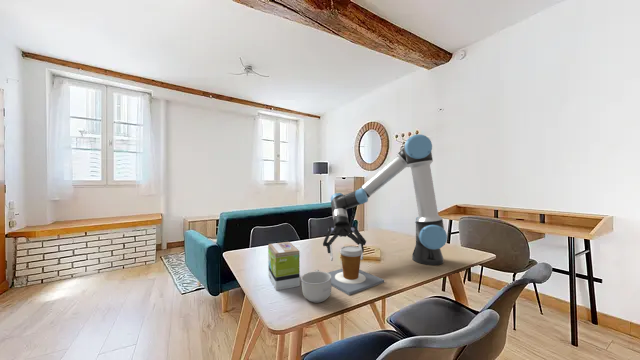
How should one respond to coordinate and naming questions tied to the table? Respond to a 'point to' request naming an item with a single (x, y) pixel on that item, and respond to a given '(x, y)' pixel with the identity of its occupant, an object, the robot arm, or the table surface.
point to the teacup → (316, 286)
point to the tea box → (284, 265)
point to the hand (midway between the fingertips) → (347, 259)
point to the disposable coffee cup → (350, 261)
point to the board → (353, 281)
